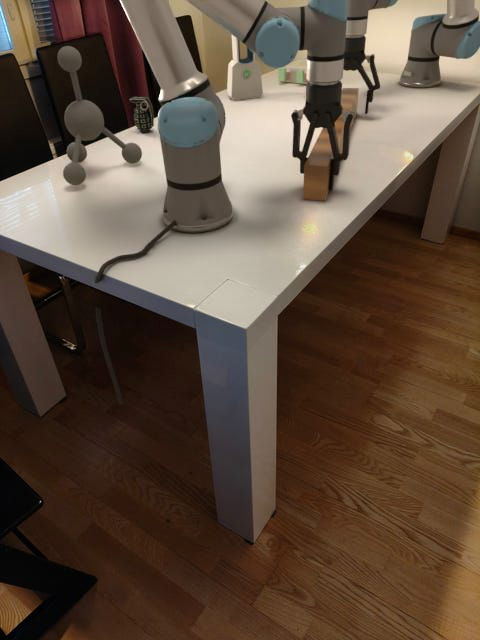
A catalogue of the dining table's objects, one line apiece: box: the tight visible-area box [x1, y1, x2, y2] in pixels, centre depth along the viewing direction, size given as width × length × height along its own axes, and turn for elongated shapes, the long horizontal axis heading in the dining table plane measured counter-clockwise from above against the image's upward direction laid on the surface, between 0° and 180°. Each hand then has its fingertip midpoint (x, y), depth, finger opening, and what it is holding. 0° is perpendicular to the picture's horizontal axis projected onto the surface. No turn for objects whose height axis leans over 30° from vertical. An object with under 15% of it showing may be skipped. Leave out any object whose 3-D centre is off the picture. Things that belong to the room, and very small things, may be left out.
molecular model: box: [57, 45, 143, 186], centre depth 125 cm, size 24×22×30 cm
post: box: [302, 87, 359, 202], centre depth 136 cm, size 70×5×8 cm, turn 164°
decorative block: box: [277, 57, 309, 85], centre depth 206 cm, size 26×6×20 cm
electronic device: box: [226, 34, 264, 101], centre depth 179 cm, size 12×8×30 cm, turn 105°
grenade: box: [128, 96, 155, 133], centre depth 156 cm, size 7×6×10 cm
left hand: (318, 187), depth 116 cm, fingers closed on post, 5 cm apart
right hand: (346, 112), depth 159 cm, fingers open, 12 cm apart
